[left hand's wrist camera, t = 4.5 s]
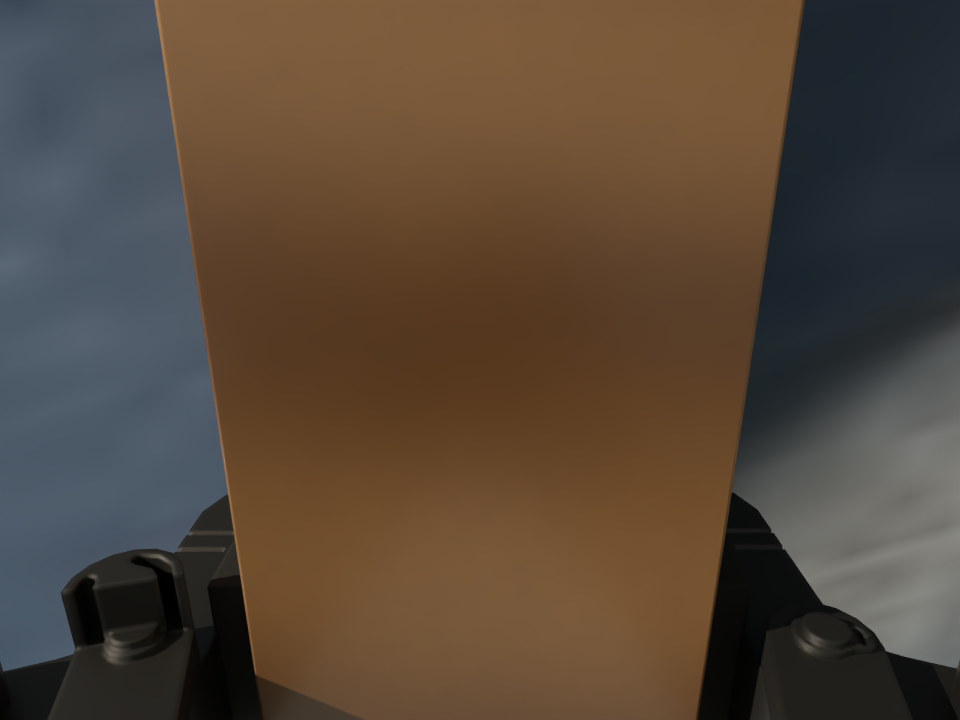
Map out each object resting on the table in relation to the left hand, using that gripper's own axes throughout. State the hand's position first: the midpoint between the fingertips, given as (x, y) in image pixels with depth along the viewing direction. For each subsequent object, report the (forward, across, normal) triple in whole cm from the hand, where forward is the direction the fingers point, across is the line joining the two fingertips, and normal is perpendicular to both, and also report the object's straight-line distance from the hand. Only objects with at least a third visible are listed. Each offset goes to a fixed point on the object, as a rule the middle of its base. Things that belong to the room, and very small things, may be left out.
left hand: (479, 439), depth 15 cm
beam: (+1, 0, -26) cm, 26 cm away
